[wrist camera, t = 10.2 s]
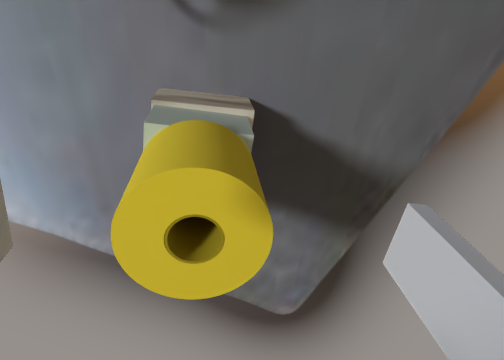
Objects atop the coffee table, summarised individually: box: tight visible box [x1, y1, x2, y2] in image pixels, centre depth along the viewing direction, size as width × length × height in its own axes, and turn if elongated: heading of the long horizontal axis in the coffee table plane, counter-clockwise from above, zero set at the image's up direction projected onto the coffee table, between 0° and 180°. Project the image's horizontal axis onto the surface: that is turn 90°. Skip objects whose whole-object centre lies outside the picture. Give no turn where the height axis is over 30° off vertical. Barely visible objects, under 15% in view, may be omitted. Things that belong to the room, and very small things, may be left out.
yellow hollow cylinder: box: [111, 120, 273, 299], centre depth 25 cm, size 10×10×9 cm
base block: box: [151, 88, 255, 128], centre depth 38 cm, size 10×10×6 cm
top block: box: [143, 104, 254, 153], centre depth 32 cm, size 9×9×6 cm
